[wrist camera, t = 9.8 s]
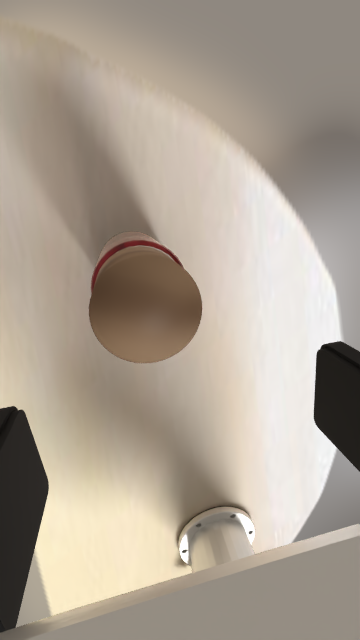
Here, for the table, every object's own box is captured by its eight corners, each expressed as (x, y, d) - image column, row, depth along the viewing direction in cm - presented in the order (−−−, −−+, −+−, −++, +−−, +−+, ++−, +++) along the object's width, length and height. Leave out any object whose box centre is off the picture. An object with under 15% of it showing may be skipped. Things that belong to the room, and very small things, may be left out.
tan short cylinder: (165, 344, 24) (176, 375, 20) (82, 317, 23) (73, 345, 18) (198, 266, 23) (219, 280, 18) (112, 230, 21) (112, 236, 16)
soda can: (113, 306, 35) (112, 350, 24) (87, 243, 32) (73, 260, 21) (173, 284, 35) (200, 318, 24) (153, 221, 33) (173, 226, 22)
